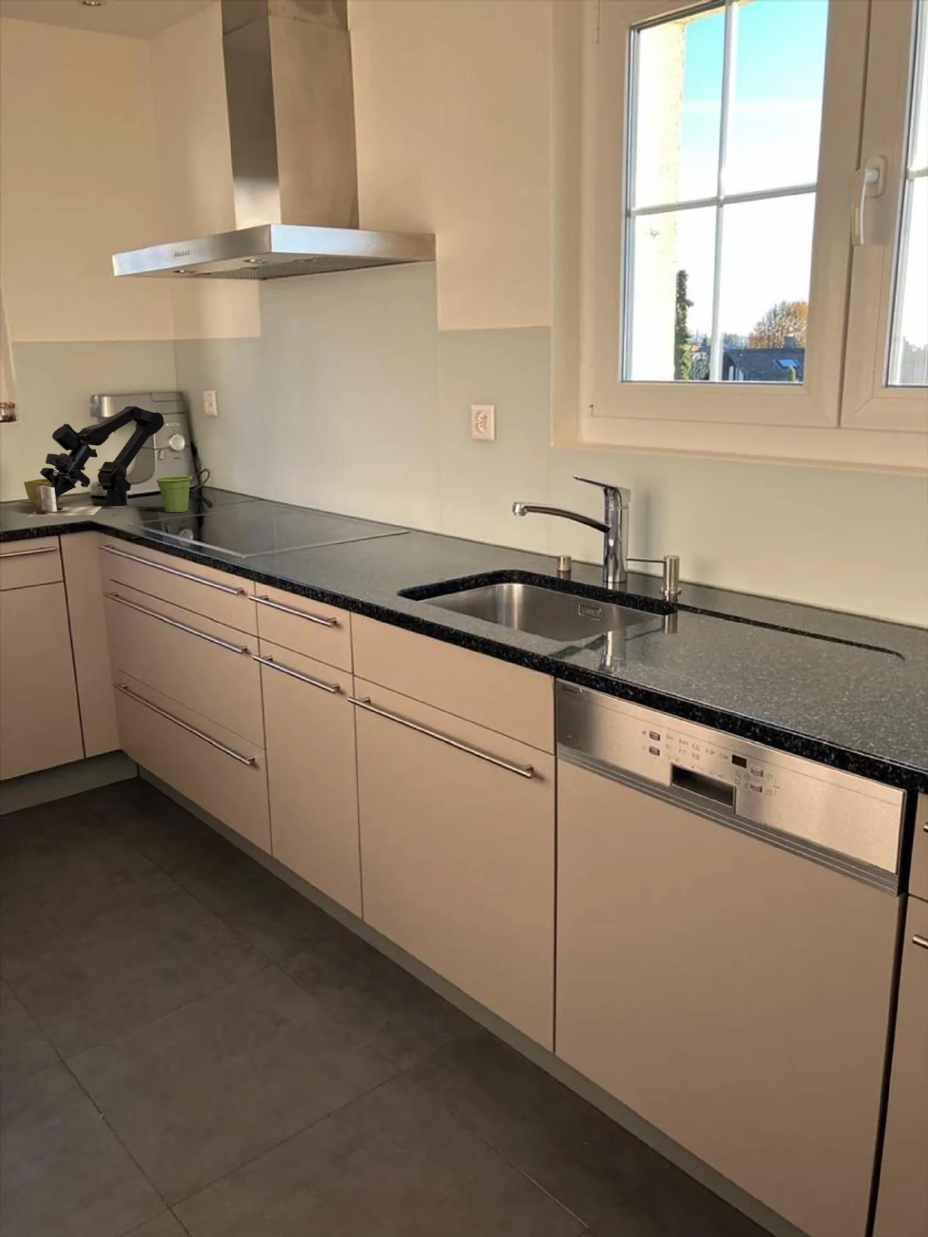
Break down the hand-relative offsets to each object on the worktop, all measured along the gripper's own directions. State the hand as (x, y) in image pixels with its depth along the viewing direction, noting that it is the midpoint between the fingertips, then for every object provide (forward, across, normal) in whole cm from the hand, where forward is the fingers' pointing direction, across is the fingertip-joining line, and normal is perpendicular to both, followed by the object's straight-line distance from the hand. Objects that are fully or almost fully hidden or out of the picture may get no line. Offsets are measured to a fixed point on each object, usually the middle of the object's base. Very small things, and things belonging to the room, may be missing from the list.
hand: (51, 498), depth 325 cm
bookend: (+2, -2, +5) cm, 6 cm away
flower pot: (-6, -27, +16) cm, 32 cm away
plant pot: (-17, +22, +27) cm, 39 cm away
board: (0, -3, +10) cm, 10 cm away
